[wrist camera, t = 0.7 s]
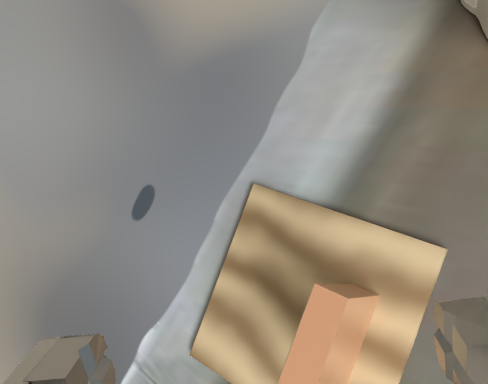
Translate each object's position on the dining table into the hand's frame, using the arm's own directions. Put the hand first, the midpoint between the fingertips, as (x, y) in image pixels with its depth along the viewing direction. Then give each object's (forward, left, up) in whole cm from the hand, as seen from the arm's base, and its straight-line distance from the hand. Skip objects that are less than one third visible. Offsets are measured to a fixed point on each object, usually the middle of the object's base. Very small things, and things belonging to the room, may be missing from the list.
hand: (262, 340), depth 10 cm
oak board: (+6, -11, -38) cm, 40 cm away
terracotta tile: (+6, -5, -37) cm, 38 cm away
